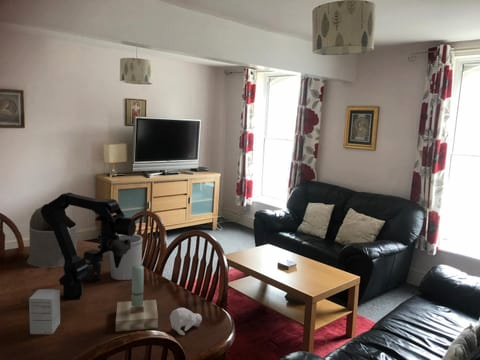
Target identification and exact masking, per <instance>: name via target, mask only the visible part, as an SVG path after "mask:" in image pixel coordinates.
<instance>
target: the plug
mask: <svg viewBox="0 0 480 360" xmlns="http://www.w3.org/2000/svg"><path fill="white" fill-rule="evenodd" d="M144 270H145V266H144V265H135V266H133V267H132V279H131V301H132V304H131V305H132V306H134V307H139V306H142V305H143V301H144V291H145V290H144V274H145V271H144Z"/></svg>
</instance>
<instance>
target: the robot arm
mask: <svg viewBox="0 0 480 360" xmlns="http://www.w3.org/2000/svg"><path fill="white" fill-rule="evenodd" d="M70 206H73V207H77V208H82V209H86V210H90V211H93V213H94V214H95V215H98V216H97V217H96V218H95V219H94V220H95V221H98V222H100V223H99V224H100V225H99V226H100V234H98V235H97V238H98V239H100V244H99V245H97V249H93V248H92V249H88V250H86V251H84V252H83V257H81V256H78V255H79V254H78V255H77V253H78V251H77V252H76V250H75V247H74V245H73V242H72V239H71V237H70V234H69V232H68V229H67V226H66V224H65V217H66V215H67V213H66V212H67V211H66V210H67V208H69V207H70ZM41 207H42V209H41V214H42V216H43V218H44V220H45V221H46V222H47V223H48V224H49V225H50V226H52V228H53V231H54V234H55V236H56V239H57V241H58V244H59V247H60V249H61V252H62V254H63V257H64V260H65V263H64V265H63V271H64V274H63V275H62V276H61V277H60V278H59V279H58V282H59V285H60V286H62V287H63V290H62V291H63V292H62V293H63V295H62V300H63V301H66V300H68V301H69V300H80V299H81V297H82V295H83V293H84V284H83V283H82V280H83V279H84V277H85V275H86V274H87V272H88V265H87V261H88V262H90V263H91V264H92V265H91V266H93V268H94V269H95V271H96V272H95V274H97V275H99V276H100V273H101V271H102V262H103V261H104V259H103V258H104V255H106V254H108V253H109V254H110V252H113V255H114V262H115V267H116V268H118V267H119V264H120V262H121V259H122V257H123V255H124V254H126V252H128V250H129V249H131V242H130V240H129V239H127V240H124V241H123V240H119V235H127V236H133V235H134V234H136V231H137V224H136V222H135V220H134V217H132V216H131V217H127V216H126V215H125V214H124V212H123V210H122V209H121V206H120V205H119V203H118V201H117V200H116V199H113V198H101V199H100V198H99V199H98V198H93V197H88V196H84V195H79V194H75V193H72V192H65V193H62V194H60V195H58V197H56V198H55V199H53V200H52V201H50V202H48V203H46V204H44V205H42V206H41ZM98 249H99V250H98ZM101 274H102V273H101ZM84 280H85V279H84Z"/></svg>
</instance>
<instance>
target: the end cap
mask: <svg viewBox="0 0 480 360" xmlns="http://www.w3.org/2000/svg"><path fill="white" fill-rule="evenodd" d="M86 263H87V265H88V272H87V274H86V275H85V277H84V280H86V281H88V282H89V283H94V282H97V281H100V280H101V277H102V273H100V276H99V275H97V273H96V271H95V269H94V268H93V266H92V264H91V263H90V261H88V262H87V261H86Z"/></svg>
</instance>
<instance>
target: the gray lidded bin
mask: <svg viewBox="0 0 480 360" xmlns="http://www.w3.org/2000/svg"><path fill="white" fill-rule="evenodd" d="M41 209H42V206H41V207H39V208H36V209H35V210H34V211H33V213H32V214H31V215H30V219H29V224H28V225H29V228H28V229H29V256H28V258H27V264H29V265H30V264H31V265H30V266H32V265H34V266H33V267H35V266H39V267H38V268H56V266H57V267H62V266H63V267H64V263H65V260H64V257H63V254H62V252H61V249H60V247H59V244H58V241H57V239H56V236H55V234H54V231H53V228H52V226H50V225H49V224H48V223H47V222H46V221H45V220H44V218H43V216H42V214H41ZM65 224H66V226H67V229H68V232H69V234H70V237H71V239H72V242H73V245H74V247H75V250H76V252H77V255H78V256H79V253H78V251H77V250H78V249H77V248H78V247H77V245H78V243H77V242H78V240H77V238H78V236H77V234H78V233H77V230H78V228H77V227H78V226H77V222H75V221H74V220H73V219H71V217H70V216H68V214H66V217H65ZM79 257H80V256H79Z"/></svg>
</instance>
